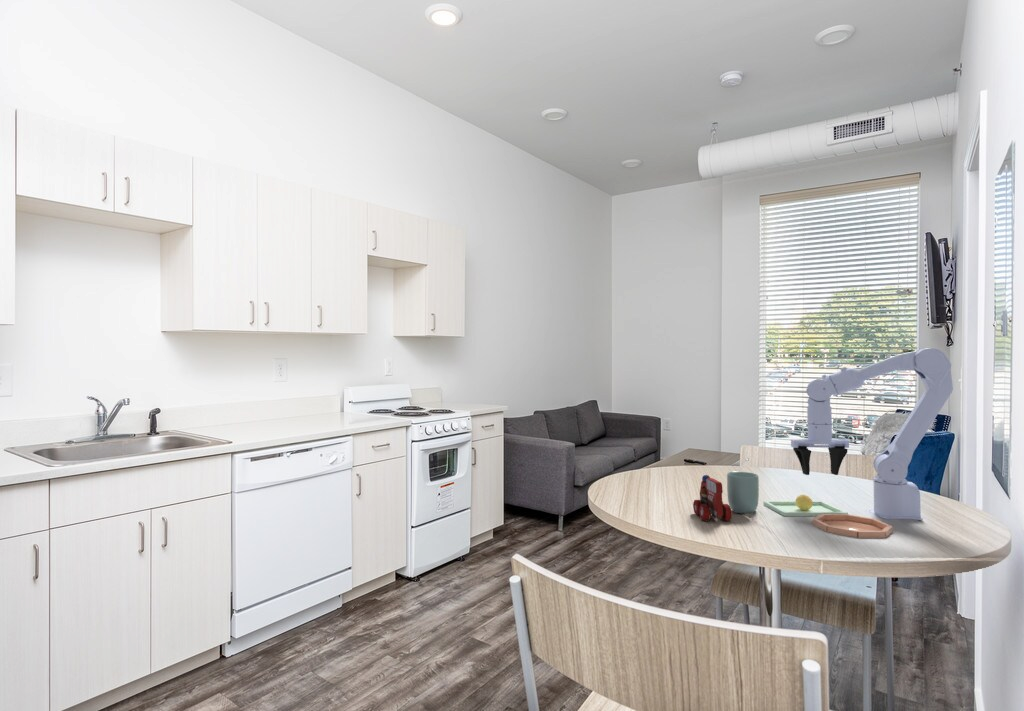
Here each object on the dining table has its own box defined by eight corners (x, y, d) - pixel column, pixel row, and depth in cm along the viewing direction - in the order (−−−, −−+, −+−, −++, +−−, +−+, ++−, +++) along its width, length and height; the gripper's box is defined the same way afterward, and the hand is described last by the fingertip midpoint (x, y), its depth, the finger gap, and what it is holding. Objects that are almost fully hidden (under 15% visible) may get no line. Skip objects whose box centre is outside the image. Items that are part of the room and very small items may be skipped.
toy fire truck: (716, 511, 147) (715, 472, 148) (734, 524, 135) (734, 481, 135) (690, 511, 147) (689, 472, 148) (706, 524, 135) (705, 481, 135)
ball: (808, 508, 147) (808, 493, 148) (815, 512, 143) (815, 496, 144) (793, 508, 148) (792, 493, 148) (799, 511, 144) (799, 496, 144)
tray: (822, 506, 152) (822, 501, 152) (848, 518, 140) (848, 512, 140) (763, 506, 152) (763, 501, 152) (784, 518, 140) (784, 512, 140)
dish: (864, 521, 137) (864, 514, 137) (906, 540, 122) (906, 532, 122) (803, 521, 137) (803, 513, 137) (837, 540, 122) (837, 531, 122)
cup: (762, 516, 141) (761, 477, 142) (730, 515, 143) (729, 476, 143) (755, 509, 149) (754, 472, 149) (724, 507, 151) (724, 471, 151)
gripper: (838, 422, 153) (838, 471, 153) (785, 422, 153) (786, 471, 153) (853, 424, 146) (854, 476, 146) (798, 425, 146) (798, 476, 146)
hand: (820, 474), depth 149 cm, fingers open, 7 cm apart
